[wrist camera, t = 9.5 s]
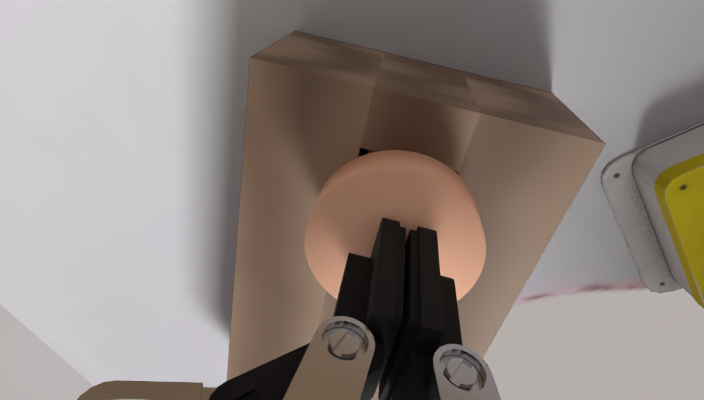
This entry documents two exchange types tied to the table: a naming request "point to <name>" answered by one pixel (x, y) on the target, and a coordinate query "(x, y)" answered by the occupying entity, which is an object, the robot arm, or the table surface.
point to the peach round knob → (394, 215)
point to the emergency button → (663, 210)
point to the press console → (380, 135)
